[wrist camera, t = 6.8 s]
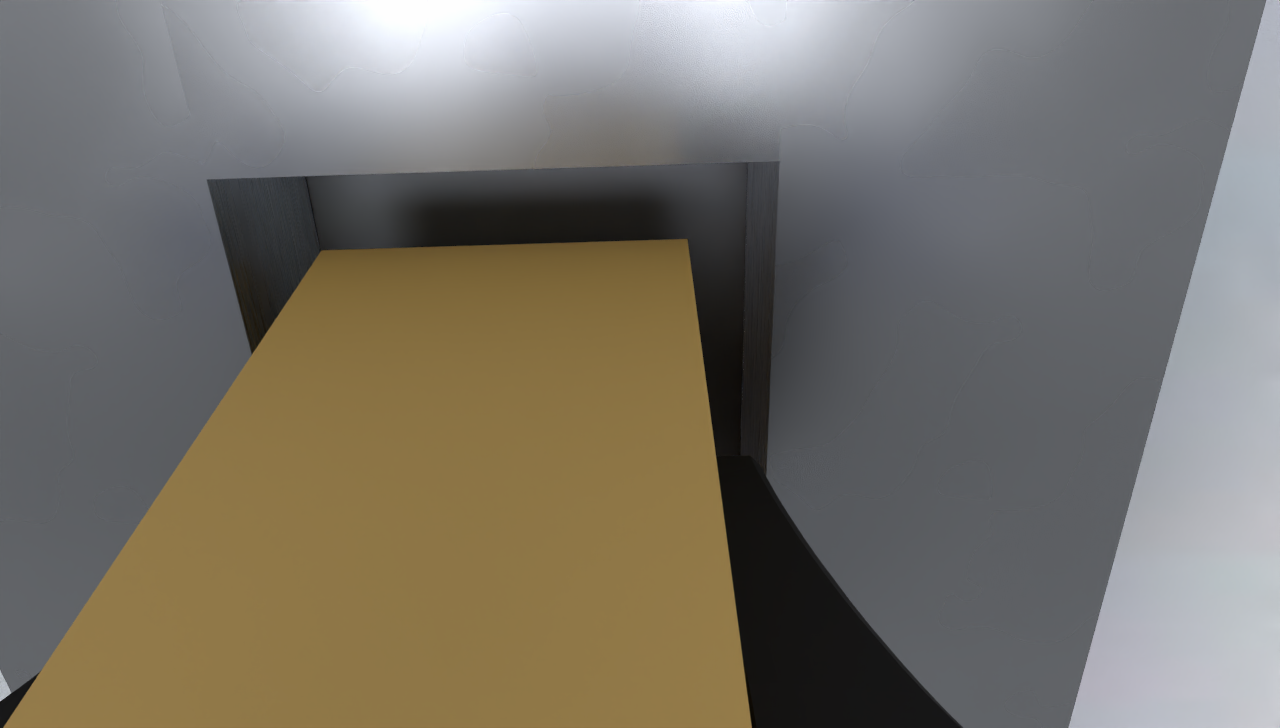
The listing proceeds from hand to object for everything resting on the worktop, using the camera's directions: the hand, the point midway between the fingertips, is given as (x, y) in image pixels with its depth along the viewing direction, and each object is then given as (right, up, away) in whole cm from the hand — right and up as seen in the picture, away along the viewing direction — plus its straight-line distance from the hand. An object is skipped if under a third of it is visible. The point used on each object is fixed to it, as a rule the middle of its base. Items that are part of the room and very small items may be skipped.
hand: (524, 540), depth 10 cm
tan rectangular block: (0, +1, +2) cm, 3 cm away
